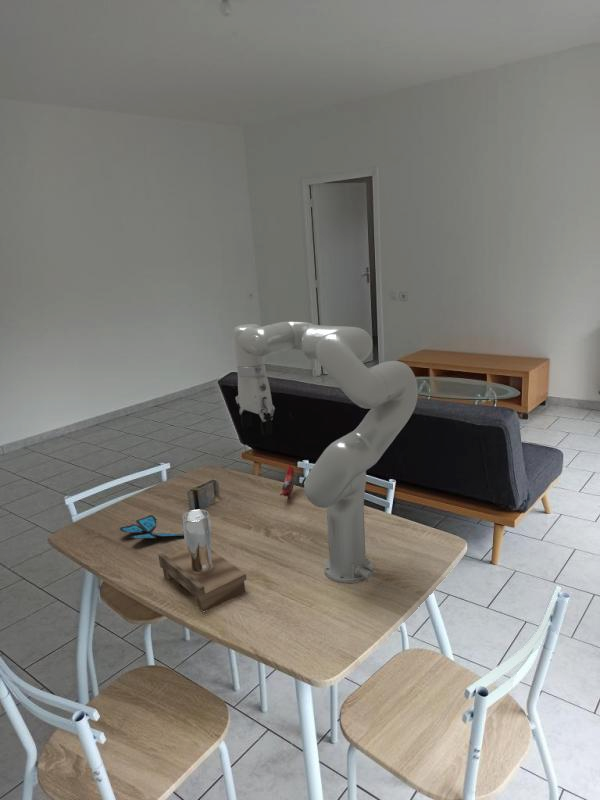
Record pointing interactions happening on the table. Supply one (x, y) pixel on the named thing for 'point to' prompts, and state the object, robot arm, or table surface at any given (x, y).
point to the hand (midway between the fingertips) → (257, 430)
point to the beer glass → (198, 540)
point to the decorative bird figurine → (288, 483)
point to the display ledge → (205, 578)
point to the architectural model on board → (203, 494)
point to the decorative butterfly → (145, 528)
